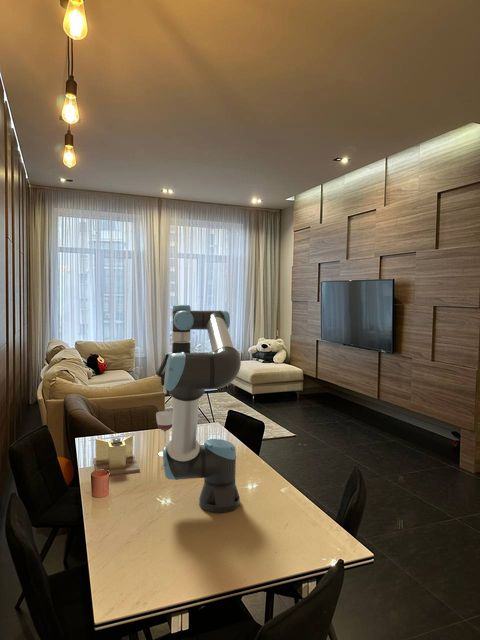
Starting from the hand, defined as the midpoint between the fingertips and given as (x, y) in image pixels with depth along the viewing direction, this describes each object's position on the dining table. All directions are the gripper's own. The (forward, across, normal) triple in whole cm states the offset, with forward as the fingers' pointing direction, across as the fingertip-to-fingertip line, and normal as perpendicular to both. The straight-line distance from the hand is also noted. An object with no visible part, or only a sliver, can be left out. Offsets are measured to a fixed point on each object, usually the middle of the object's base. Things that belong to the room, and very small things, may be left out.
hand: (180, 392), depth 187 cm
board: (+37, +24, -22) cm, 49 cm away
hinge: (+35, +24, -22) cm, 48 cm away
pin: (+36, +24, -19) cm, 47 cm away
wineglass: (+37, 0, -30) cm, 48 cm away
